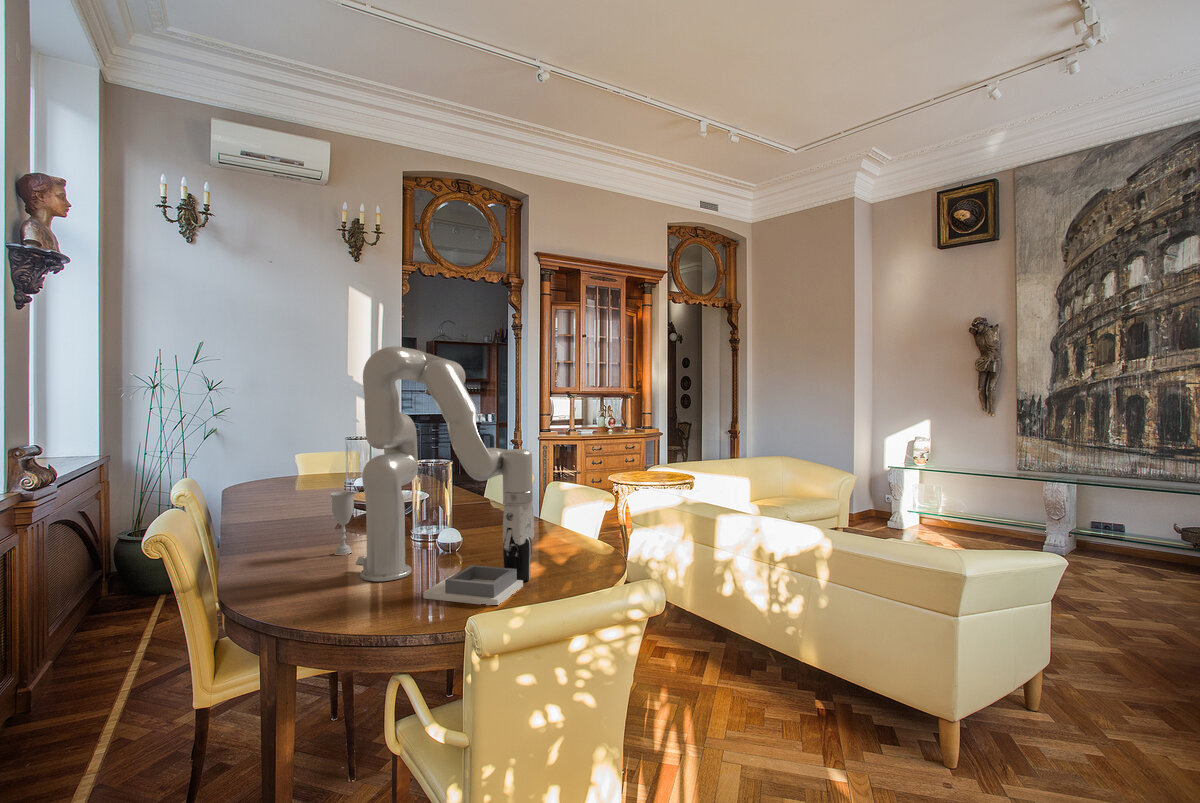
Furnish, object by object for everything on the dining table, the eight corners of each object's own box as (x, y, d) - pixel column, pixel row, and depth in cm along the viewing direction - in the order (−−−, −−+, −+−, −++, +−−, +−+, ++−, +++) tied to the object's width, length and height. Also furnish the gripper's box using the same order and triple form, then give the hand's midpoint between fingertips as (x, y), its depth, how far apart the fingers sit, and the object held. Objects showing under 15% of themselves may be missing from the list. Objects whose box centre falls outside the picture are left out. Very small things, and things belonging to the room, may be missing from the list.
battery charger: (533, 577, 154) (533, 533, 154) (529, 582, 151) (529, 537, 150) (507, 576, 155) (507, 532, 155) (502, 580, 152) (502, 536, 151)
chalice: (361, 552, 178) (360, 492, 178) (340, 558, 173) (339, 496, 172) (346, 549, 182) (345, 490, 182) (325, 554, 177) (324, 493, 176)
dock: (423, 598, 139) (423, 579, 139) (454, 579, 153) (454, 562, 152) (497, 606, 134) (497, 586, 134) (522, 586, 147) (522, 568, 147)
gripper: (517, 504, 143) (518, 580, 144) (543, 492, 160) (543, 561, 160) (489, 503, 146) (489, 577, 146) (517, 491, 162) (518, 558, 162)
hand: (518, 568), depth 153 cm, fingers closed on battery charger, 4 cm apart
